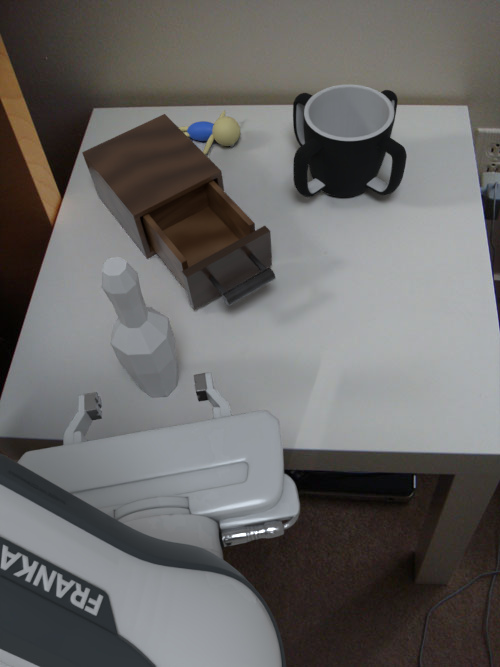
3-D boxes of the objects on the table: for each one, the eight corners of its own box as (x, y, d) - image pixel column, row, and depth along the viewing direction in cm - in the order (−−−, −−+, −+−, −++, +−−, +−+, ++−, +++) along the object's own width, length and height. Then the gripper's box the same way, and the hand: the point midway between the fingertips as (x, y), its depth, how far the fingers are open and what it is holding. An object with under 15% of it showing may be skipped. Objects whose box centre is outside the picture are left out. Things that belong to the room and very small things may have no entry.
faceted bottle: (173, 410, 71) (131, 300, 53) (125, 396, 72) (67, 285, 54) (192, 365, 74) (159, 247, 56) (146, 353, 76) (98, 234, 57)
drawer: (293, 287, 79) (293, 253, 73) (214, 334, 76) (207, 303, 70) (215, 204, 88) (209, 168, 82) (141, 243, 85) (130, 208, 79)
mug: (398, 145, 94) (411, 76, 84) (396, 220, 85) (410, 153, 75) (295, 140, 96) (295, 72, 86) (283, 213, 87) (281, 146, 77)
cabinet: (227, 215, 88) (221, 170, 81) (147, 259, 84) (133, 215, 77) (174, 159, 95) (164, 113, 88) (98, 196, 92) (81, 152, 85)
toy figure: (167, 133, 99) (165, 105, 96) (214, 123, 103) (214, 95, 99) (195, 160, 93) (194, 130, 89) (245, 148, 96) (245, 120, 93)
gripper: (306, 518, 39) (269, 344, 47) (-4, 575, 39) (9, 389, 46) (305, 543, 45) (272, 382, 52) (32, 593, 44) (39, 423, 52)
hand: (146, 386), depth 49 cm, fingers open, 8 cm apart
